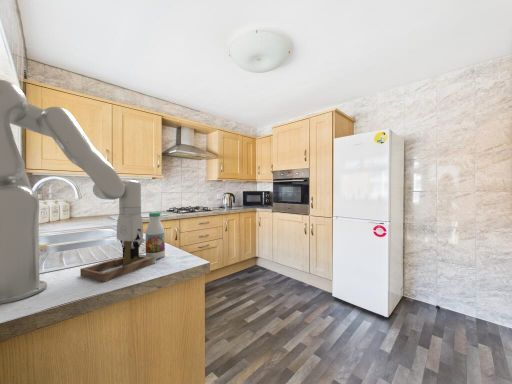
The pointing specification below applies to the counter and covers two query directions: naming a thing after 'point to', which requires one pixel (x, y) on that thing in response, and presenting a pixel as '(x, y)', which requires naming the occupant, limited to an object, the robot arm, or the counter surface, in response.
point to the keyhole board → (94, 270)
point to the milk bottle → (155, 236)
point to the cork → (128, 253)
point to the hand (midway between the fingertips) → (130, 256)
